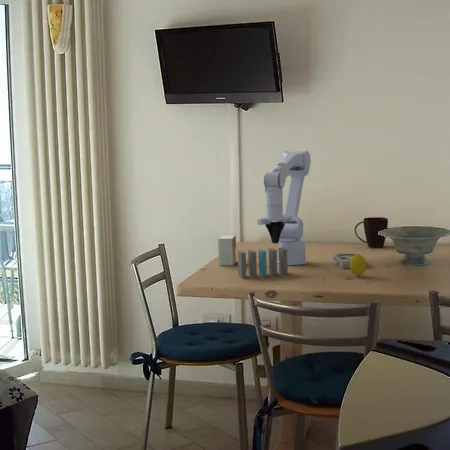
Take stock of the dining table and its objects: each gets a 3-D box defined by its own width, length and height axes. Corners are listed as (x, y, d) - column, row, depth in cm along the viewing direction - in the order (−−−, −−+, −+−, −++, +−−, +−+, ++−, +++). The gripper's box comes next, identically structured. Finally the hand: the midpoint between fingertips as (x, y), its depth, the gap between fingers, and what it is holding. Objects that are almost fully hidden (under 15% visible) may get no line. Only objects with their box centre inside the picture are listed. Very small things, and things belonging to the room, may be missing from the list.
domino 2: (253, 274, 244) (252, 249, 243) (256, 277, 240) (256, 252, 238) (248, 274, 244) (248, 249, 243) (252, 277, 239) (251, 252, 238)
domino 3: (273, 272, 246) (272, 248, 245) (277, 275, 241) (276, 250, 240) (269, 273, 246) (268, 248, 244) (273, 276, 241) (272, 250, 240)
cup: (390, 248, 286) (390, 220, 284) (356, 249, 286) (356, 221, 284) (384, 244, 296) (384, 216, 294) (352, 245, 296) (352, 218, 294)
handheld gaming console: (341, 260, 248) (332, 253, 263) (341, 270, 249) (332, 262, 264) (366, 259, 249) (355, 252, 264) (366, 268, 250) (355, 260, 264)
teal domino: (263, 273, 245) (262, 248, 244) (266, 276, 240) (266, 251, 239) (258, 274, 245) (258, 249, 244) (262, 276, 240) (261, 251, 239)
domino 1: (242, 275, 244) (242, 250, 242) (246, 278, 239) (245, 252, 238) (238, 275, 243) (237, 250, 242) (241, 278, 239) (241, 253, 237)
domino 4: (283, 272, 247) (282, 247, 246) (287, 274, 242) (287, 249, 241) (279, 272, 247) (278, 247, 245) (283, 275, 242) (282, 250, 240)
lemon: (356, 279, 232) (356, 255, 231) (346, 276, 237) (346, 253, 236) (369, 277, 234) (369, 254, 233) (359, 274, 239) (359, 251, 238)
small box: (233, 265, 261) (232, 238, 259) (218, 265, 262) (217, 238, 261) (236, 261, 269) (236, 235, 267) (222, 261, 270) (222, 235, 268)
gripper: (283, 203, 252) (283, 239, 254) (251, 206, 244) (252, 243, 246) (295, 204, 247) (296, 241, 248) (264, 207, 238) (264, 246, 240)
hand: (275, 243), depth 247 cm, fingers closed
